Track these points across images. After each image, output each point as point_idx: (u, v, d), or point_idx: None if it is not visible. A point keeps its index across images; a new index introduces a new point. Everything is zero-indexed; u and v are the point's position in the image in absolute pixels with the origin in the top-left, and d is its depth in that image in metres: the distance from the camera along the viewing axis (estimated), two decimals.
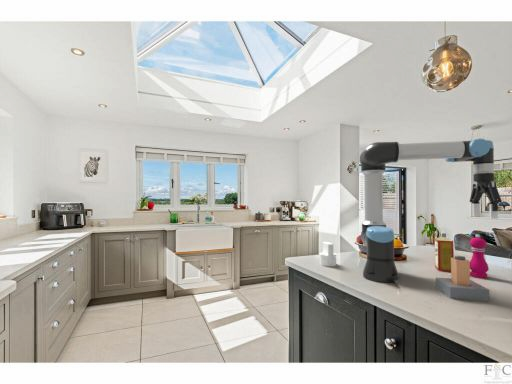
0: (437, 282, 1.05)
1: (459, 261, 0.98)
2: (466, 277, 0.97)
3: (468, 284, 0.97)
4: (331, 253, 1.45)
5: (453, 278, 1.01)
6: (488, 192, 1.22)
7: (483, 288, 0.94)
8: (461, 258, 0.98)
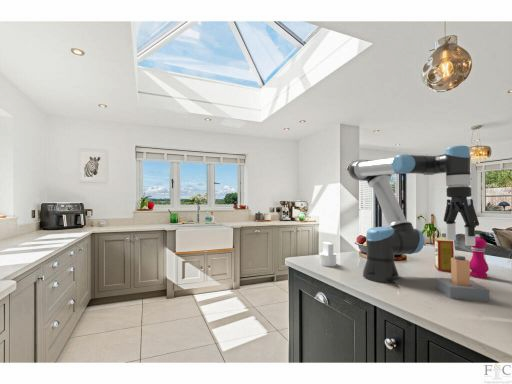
0: (437, 282, 1.05)
1: (459, 261, 0.98)
2: (466, 277, 0.97)
3: (468, 284, 0.97)
4: (331, 253, 1.45)
5: (453, 278, 1.01)
6: (463, 211, 0.96)
7: (483, 288, 0.94)
8: (461, 258, 0.98)
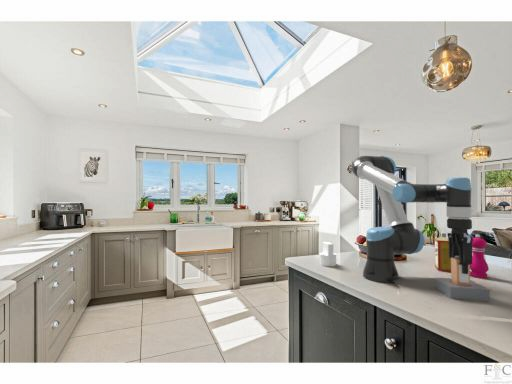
0: (437, 282, 1.05)
1: (459, 261, 0.98)
2: None
3: (468, 284, 0.97)
4: (331, 253, 1.45)
5: (452, 278, 1.01)
6: (461, 247, 0.97)
7: (483, 288, 0.94)
8: None
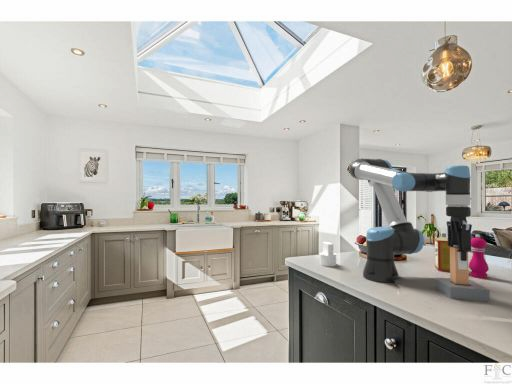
0: (437, 282, 1.05)
1: None
2: None
3: (467, 273, 0.98)
4: (331, 253, 1.45)
5: (451, 267, 1.02)
6: (460, 234, 0.98)
7: (483, 288, 0.94)
8: None
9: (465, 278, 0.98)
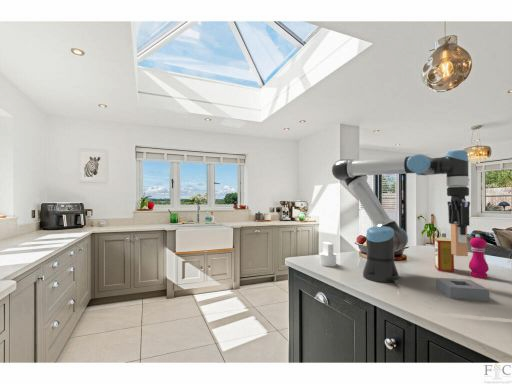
0: (437, 282, 1.05)
1: None
2: None
3: (466, 245, 1.10)
4: (331, 253, 1.45)
5: (452, 241, 1.13)
6: (459, 211, 1.10)
7: (483, 288, 0.94)
8: None
9: (464, 250, 1.10)
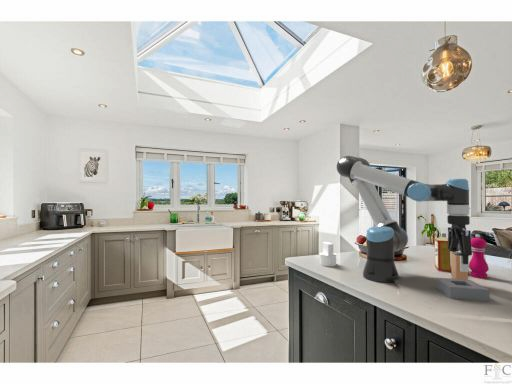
0: (437, 282, 1.05)
1: (458, 257, 1.10)
2: None
3: (466, 277, 1.09)
4: (331, 253, 1.45)
5: (452, 271, 1.13)
6: (461, 240, 1.09)
7: (483, 288, 0.94)
8: None
9: None
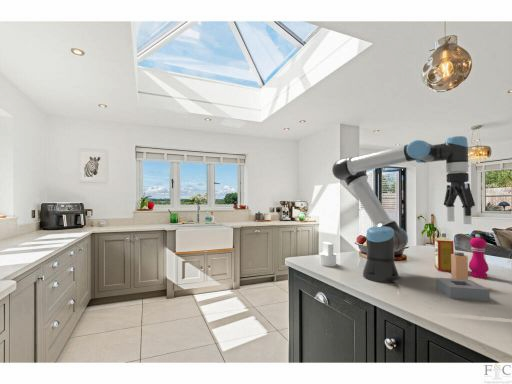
0: (437, 282, 1.05)
1: (458, 257, 1.10)
2: (464, 271, 1.10)
3: (466, 277, 1.09)
4: (331, 253, 1.45)
5: (452, 271, 1.13)
6: (461, 194, 1.09)
7: (483, 288, 0.94)
8: (460, 254, 1.11)
9: None
